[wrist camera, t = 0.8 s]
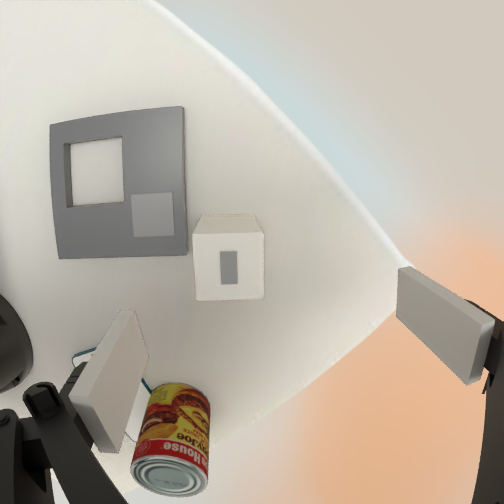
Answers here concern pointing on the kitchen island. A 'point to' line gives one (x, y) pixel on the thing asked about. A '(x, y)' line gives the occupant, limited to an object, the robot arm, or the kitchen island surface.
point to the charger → (228, 257)
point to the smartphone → (139, 402)
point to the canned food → (173, 442)
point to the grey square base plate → (135, 187)
